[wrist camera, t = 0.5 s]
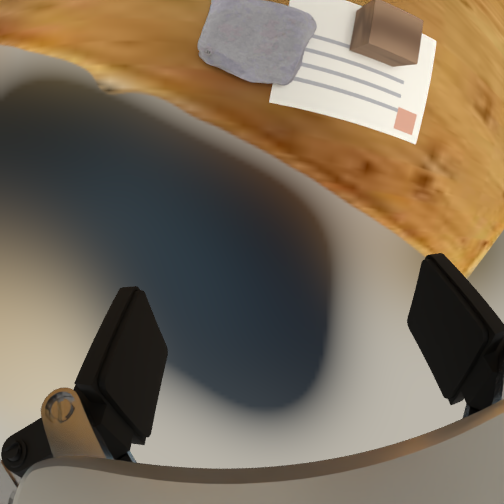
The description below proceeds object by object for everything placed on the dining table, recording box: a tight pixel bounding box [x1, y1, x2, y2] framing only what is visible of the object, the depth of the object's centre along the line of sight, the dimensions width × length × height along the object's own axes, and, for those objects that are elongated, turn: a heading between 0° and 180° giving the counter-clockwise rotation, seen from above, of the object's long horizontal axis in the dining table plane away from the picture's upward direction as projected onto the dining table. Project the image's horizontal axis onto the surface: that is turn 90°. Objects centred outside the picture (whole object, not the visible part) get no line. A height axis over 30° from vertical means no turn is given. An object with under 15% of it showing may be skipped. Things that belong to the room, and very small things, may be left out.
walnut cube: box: [349, 0, 423, 67], centre depth 23 cm, size 6×6×6 cm
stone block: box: [198, 0, 317, 86], centre depth 25 cm, size 12×5×10 cm
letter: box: [269, 0, 436, 144], centre depth 28 cm, size 16×20×1 cm
